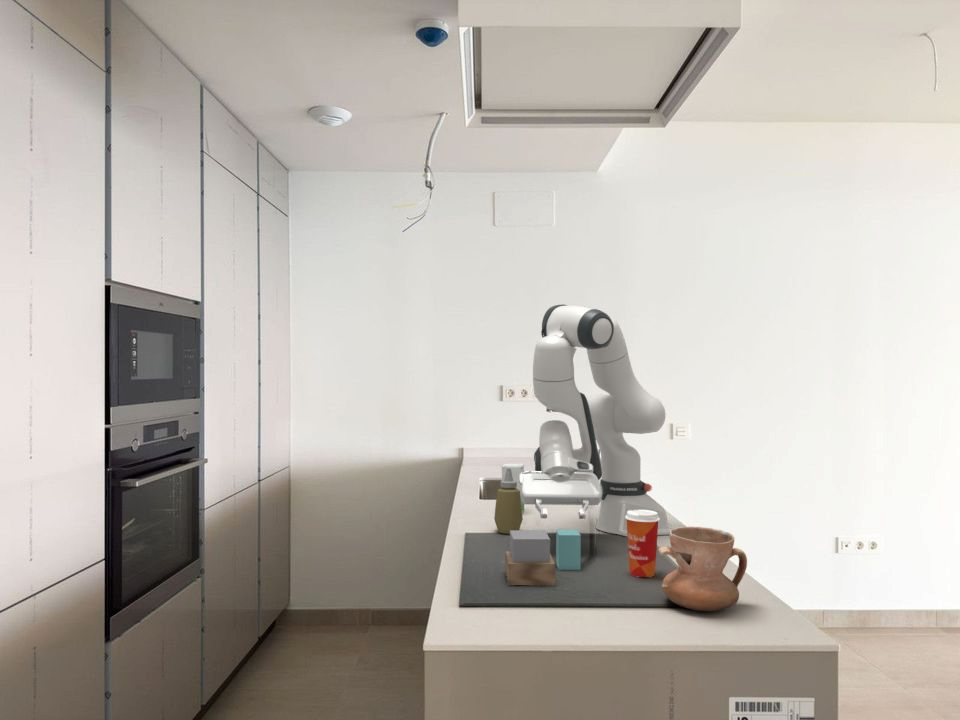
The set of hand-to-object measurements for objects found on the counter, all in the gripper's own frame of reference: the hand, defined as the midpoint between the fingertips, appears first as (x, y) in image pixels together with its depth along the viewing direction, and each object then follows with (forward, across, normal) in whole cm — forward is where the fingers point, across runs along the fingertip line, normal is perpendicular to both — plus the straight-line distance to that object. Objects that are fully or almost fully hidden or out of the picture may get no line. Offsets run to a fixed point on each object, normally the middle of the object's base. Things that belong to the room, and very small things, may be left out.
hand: (563, 517), depth 168 cm
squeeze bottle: (-12, -12, +27) cm, 32 cm away
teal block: (+12, 0, +3) cm, 12 cm away
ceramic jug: (+30, +24, -15) cm, 41 cm away
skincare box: (-31, -9, +45) cm, 55 cm away
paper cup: (+16, +16, -1) cm, 23 cm away
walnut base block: (+19, -10, -4) cm, 21 cm away
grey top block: (+15, -10, -7) cm, 19 cm away
